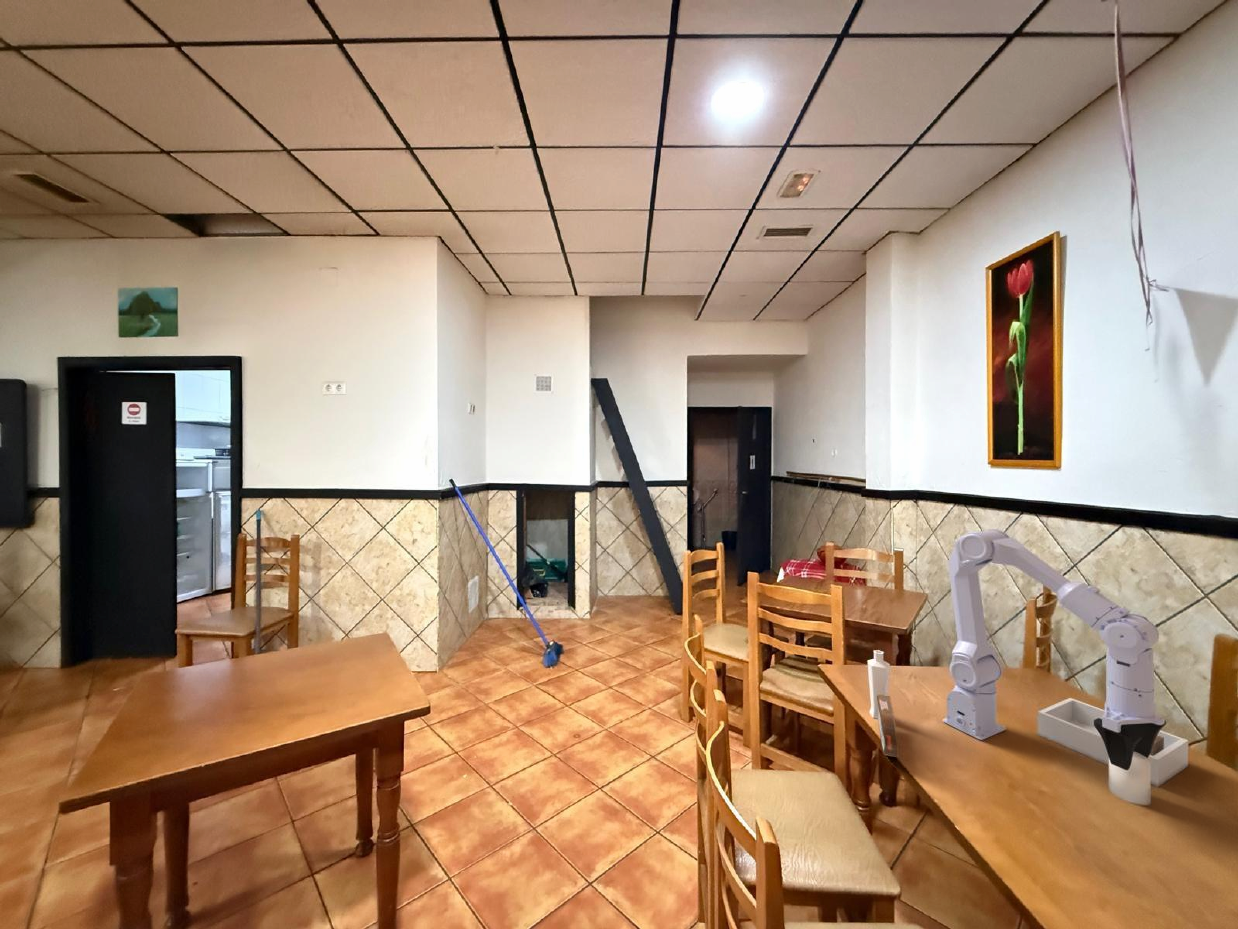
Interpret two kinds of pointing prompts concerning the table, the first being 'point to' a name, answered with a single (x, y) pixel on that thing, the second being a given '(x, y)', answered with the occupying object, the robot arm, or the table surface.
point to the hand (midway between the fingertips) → (1129, 760)
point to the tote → (1078, 733)
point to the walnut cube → (1157, 745)
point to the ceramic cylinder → (1132, 780)
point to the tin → (887, 726)
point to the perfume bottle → (877, 680)
